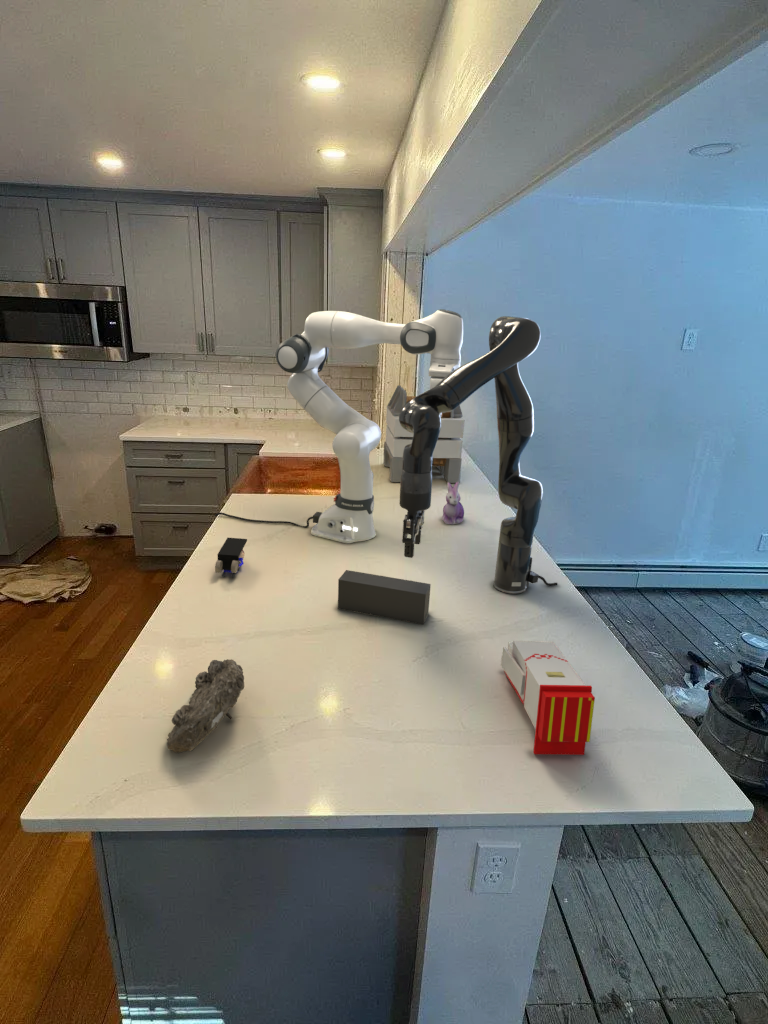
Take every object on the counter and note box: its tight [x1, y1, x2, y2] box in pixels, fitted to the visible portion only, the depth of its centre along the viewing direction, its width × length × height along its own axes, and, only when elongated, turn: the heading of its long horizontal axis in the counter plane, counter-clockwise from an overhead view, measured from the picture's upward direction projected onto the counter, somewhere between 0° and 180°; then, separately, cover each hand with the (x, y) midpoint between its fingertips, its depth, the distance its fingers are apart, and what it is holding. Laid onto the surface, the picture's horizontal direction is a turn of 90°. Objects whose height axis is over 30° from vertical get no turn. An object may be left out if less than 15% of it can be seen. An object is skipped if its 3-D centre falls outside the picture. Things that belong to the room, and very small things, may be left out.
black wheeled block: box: [214, 537, 248, 578], centre depth 166 cm, size 7×8×15 cm
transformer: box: [383, 384, 465, 484], centre depth 268 cm, size 34×33×41 cm
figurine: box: [441, 482, 465, 525], centre depth 212 cm, size 9×10×15 cm
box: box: [337, 569, 432, 625], centre depth 147 cm, size 23×6×9 cm, turn 74°
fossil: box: [166, 658, 245, 754], centre depth 106 cm, size 22×10×15 cm
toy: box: [500, 640, 596, 756], centre depth 114 cm, size 12×13×30 cm
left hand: (440, 415), depth 172 cm, fingers open, 8 cm apart
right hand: (412, 549), depth 141 cm, fingers open, 8 cm apart
